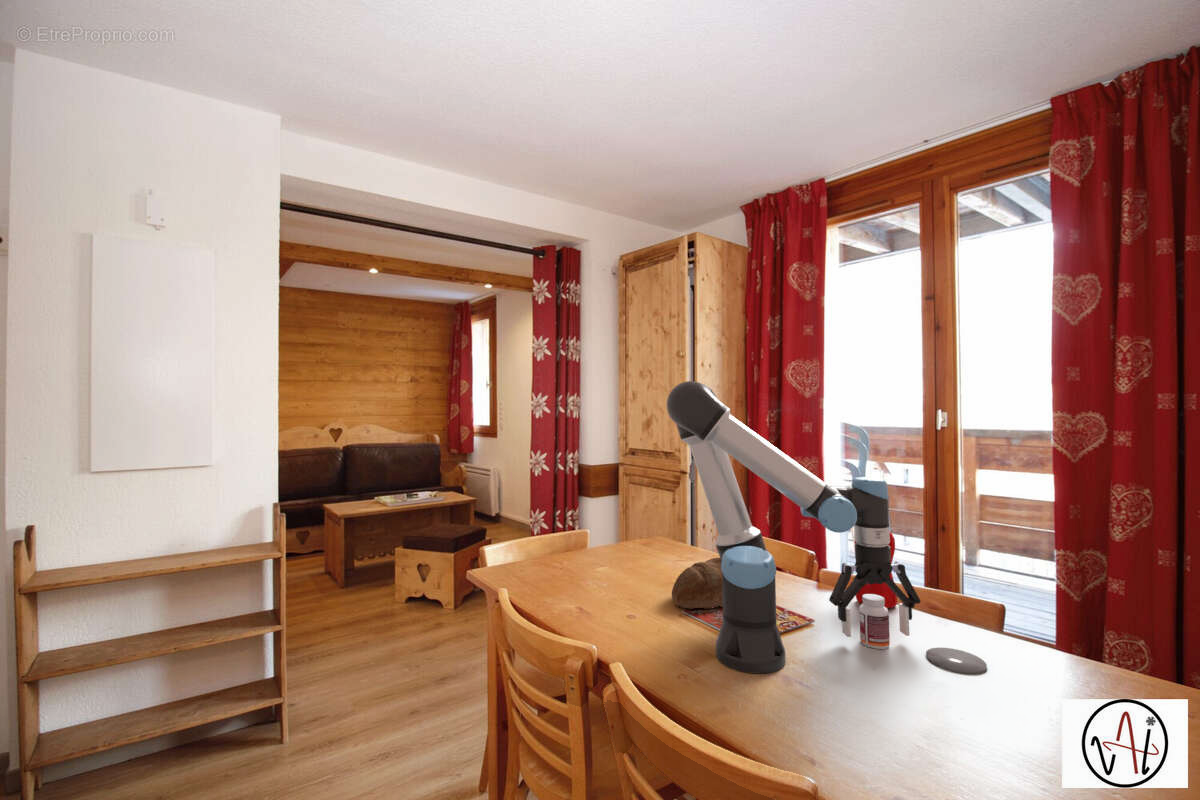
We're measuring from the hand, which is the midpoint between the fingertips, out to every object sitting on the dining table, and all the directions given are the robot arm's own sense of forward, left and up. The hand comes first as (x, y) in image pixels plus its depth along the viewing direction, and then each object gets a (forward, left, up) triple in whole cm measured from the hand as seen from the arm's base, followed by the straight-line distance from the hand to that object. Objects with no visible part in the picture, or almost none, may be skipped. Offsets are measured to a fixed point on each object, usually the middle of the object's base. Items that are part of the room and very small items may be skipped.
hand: (875, 634), depth 124 cm
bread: (-31, +32, -3) cm, 45 cm away
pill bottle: (0, 0, -3) cm, 3 cm away
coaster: (+13, -9, -2) cm, 16 cm away
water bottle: (+13, +26, -3) cm, 29 cm away
